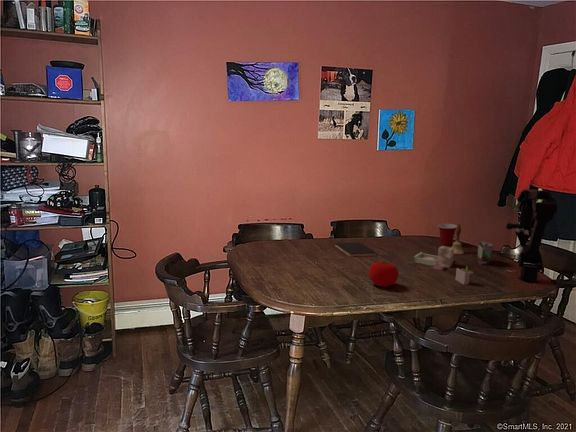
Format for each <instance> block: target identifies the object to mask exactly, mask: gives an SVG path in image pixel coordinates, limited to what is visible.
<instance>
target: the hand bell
mask: <svg viewBox="0 0 576 432" xmlns="http://www.w3.org/2000/svg"><path fill="white" fill-rule="evenodd" d="M461 231H462V227H461V224H459V223H458V224H457V227H456V230H455V234H456V236H455V241H454V242H452V244H451V247H452V248H454V254H453V255H464V254H465V252H464V250H463V248H462V247H463V245H462V243H461V242H460V235H461Z"/></svg>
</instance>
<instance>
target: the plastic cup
mask: <svg viewBox="0 0 576 432" xmlns="http://www.w3.org/2000/svg"><path fill="white" fill-rule="evenodd" d="M457 225H458V224H457ZM457 225H456V224H453V223H440V224H437V226H438V229H439V239H440V244H441V246H446V247H452V245H453V241H454V237H455V234H456V227H457Z"/></svg>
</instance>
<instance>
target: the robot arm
mask: <svg viewBox="0 0 576 432" xmlns="http://www.w3.org/2000/svg"><path fill="white" fill-rule="evenodd" d="M539 200H541V201H539ZM543 201H545V202H543ZM515 208H516V210H517V211H518V212H520V214H519V216H517V219H518V220H519V221H518V222H519V223H517V222H508V223H507V224H506V228H505V229H506V230H510V231H511V230H512V229H514V230H515V231H514V233H515V235H516V238H517V240H518V241H519V244H520V247H522V248H521V252H520V253H519V255H518V267H520V268H521V269H520V276H519V277H517V279H519V280H521V281H523V282H526V283H529V284H531V283H540V280H539V279H538V275H539V270H542V269H543V267H544V266H543V265H544V264H543V257H542V254H541V250H540V247H541V244H542V242H543V241H542V240H543V238H544V237H545V236H546V228H547V225H548V223H549V222H551V221H552V220H553V219H554V218H555V215H556V214H557V211H558V205H557V202H556V199H554V198H553V197H552V196H551V195H550V191H547V190H541V189H540V190H539V189H527V188H526V189H525V188H523V189H522V191H520V193H519V195H518V197H517V203H516V205H515ZM527 243H528V244H527Z"/></svg>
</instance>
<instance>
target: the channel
mask: <svg viewBox="0 0 576 432" xmlns="http://www.w3.org/2000/svg"><path fill="white" fill-rule="evenodd" d="M425 256H426V257H431V258H437V259H438V255H435V254H434V255H433V254H428V253H424V251H421V252H419V253H417V254H416V255H414V256H413V263H417V264H422V265H427V266H432V265H433V264H435V263H436V261H435V260H429V259H424V258H423V257H425Z"/></svg>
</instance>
